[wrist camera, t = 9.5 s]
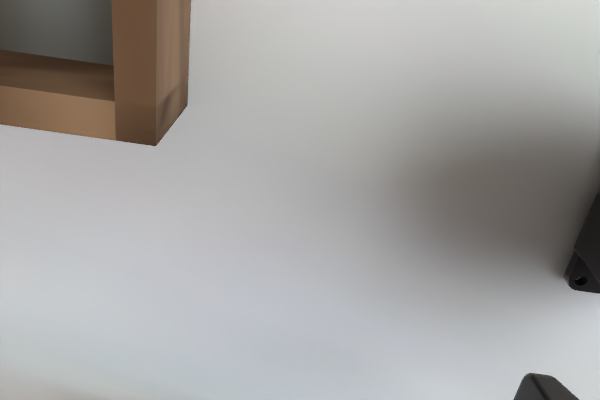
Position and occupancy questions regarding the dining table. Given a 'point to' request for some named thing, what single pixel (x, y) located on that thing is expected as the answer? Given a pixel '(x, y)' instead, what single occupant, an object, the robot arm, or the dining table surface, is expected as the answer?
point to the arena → (95, 66)
